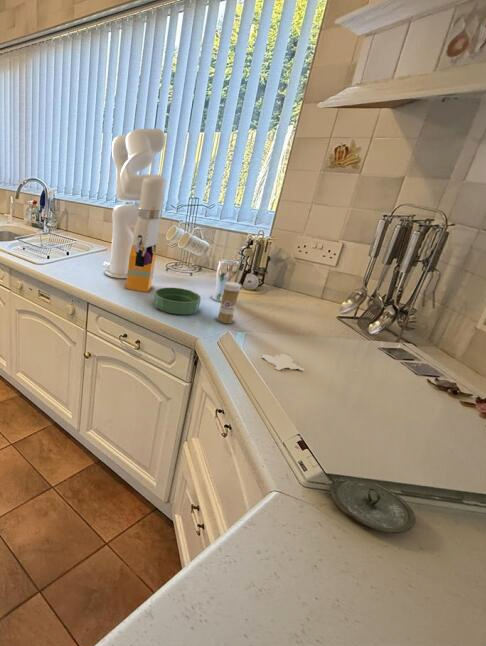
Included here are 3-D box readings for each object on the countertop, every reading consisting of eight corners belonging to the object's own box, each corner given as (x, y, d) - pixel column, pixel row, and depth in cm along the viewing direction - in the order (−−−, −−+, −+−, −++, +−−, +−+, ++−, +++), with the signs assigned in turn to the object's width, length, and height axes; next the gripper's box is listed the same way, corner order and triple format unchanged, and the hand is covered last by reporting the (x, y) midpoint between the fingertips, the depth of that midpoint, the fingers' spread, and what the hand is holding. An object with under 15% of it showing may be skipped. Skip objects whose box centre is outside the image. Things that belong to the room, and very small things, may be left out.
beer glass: (229, 303, 147) (238, 265, 141) (209, 299, 151) (217, 262, 145) (232, 298, 152) (241, 261, 146) (213, 294, 156) (220, 258, 150)
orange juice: (130, 283, 170) (135, 237, 162) (151, 286, 166) (158, 239, 158) (125, 288, 164) (130, 241, 156) (147, 292, 160) (154, 244, 152)
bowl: (145, 307, 145) (147, 294, 143) (164, 296, 155) (166, 284, 153) (187, 319, 135) (189, 306, 133) (204, 307, 145) (207, 294, 143)
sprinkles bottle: (217, 322, 133) (225, 285, 127) (216, 317, 136) (224, 280, 131) (232, 324, 131) (241, 286, 126) (231, 319, 135) (240, 282, 129)
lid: (407, 517, 66) (416, 490, 65) (416, 548, 58) (426, 519, 57) (326, 486, 72) (334, 461, 71) (325, 510, 65) (334, 483, 64)
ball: (133, 265, 144) (135, 251, 142) (140, 262, 147) (142, 249, 145) (146, 268, 140) (147, 254, 138) (153, 265, 143) (154, 251, 142)
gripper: (151, 210, 144) (145, 258, 151) (127, 216, 134) (121, 267, 141) (171, 212, 139) (164, 261, 146) (147, 218, 129) (140, 271, 136)
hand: (143, 264), depth 143 cm, fingers closed on ball, 4 cm apart
